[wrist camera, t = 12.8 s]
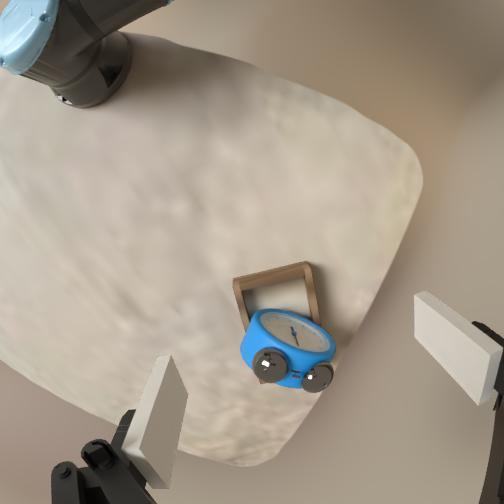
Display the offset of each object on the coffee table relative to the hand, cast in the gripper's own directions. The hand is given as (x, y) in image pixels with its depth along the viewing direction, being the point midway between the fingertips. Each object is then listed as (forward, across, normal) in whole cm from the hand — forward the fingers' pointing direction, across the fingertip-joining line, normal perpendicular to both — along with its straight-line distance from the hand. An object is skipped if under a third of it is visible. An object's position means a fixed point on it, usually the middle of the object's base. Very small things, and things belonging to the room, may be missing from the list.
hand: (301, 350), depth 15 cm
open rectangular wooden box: (+35, 0, -16) cm, 38 cm away
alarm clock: (+33, 0, -16) cm, 37 cm away
